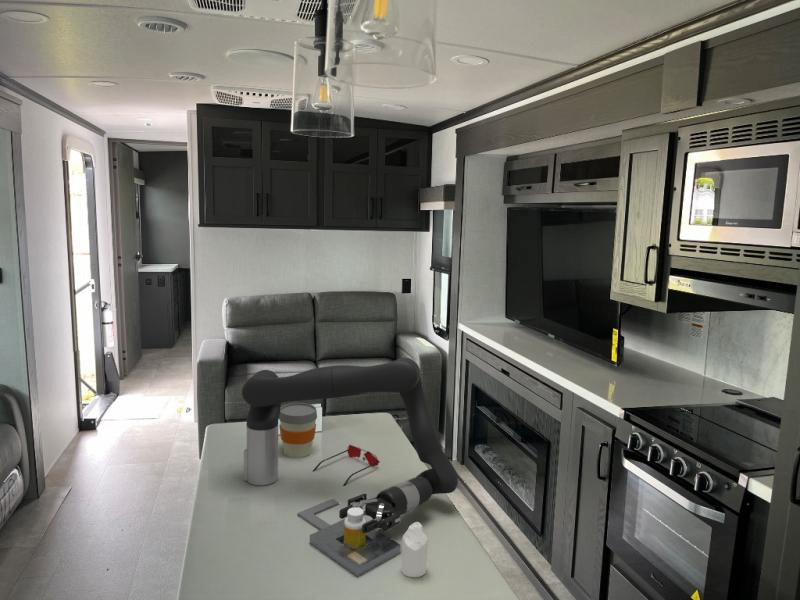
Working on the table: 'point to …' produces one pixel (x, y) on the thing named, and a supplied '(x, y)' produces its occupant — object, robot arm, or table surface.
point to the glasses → (356, 452)
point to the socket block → (357, 560)
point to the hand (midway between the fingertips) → (351, 522)
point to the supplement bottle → (354, 529)
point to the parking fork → (311, 513)
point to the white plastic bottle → (414, 551)
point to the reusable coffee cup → (297, 428)
